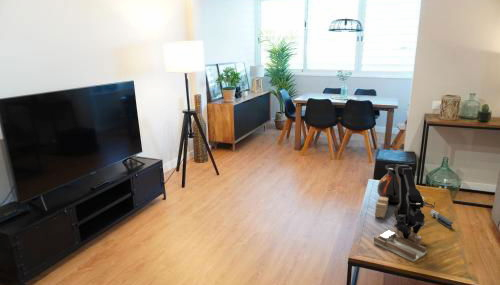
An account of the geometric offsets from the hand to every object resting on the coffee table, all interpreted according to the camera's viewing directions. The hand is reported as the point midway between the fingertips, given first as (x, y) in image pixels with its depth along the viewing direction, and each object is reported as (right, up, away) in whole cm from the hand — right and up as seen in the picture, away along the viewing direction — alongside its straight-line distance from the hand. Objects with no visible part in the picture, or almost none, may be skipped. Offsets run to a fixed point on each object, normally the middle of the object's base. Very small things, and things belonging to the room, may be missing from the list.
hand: (410, 238), depth 202 cm
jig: (-9, -3, -7) cm, 12 cm away
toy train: (-4, +7, +33) cm, 34 cm away
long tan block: (0, -1, +1) cm, 2 cm away
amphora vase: (+10, +11, +50) cm, 52 cm away
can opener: (+30, +4, +22) cm, 38 cm away
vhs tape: (+35, +11, +47) cm, 60 cm away
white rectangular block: (-14, -1, -1) cm, 14 cm away
